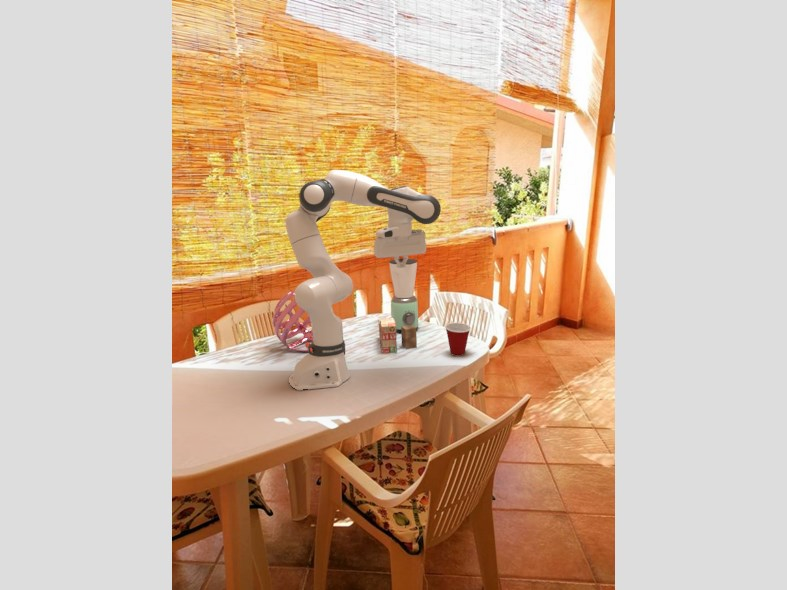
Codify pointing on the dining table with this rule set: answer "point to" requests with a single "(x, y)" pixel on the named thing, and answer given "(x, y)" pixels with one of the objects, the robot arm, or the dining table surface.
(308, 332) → the spiral basket
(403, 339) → the walnut block
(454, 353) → the plastic cup
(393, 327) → the stack of blocks
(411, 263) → the green blender
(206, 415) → the dining table surface
